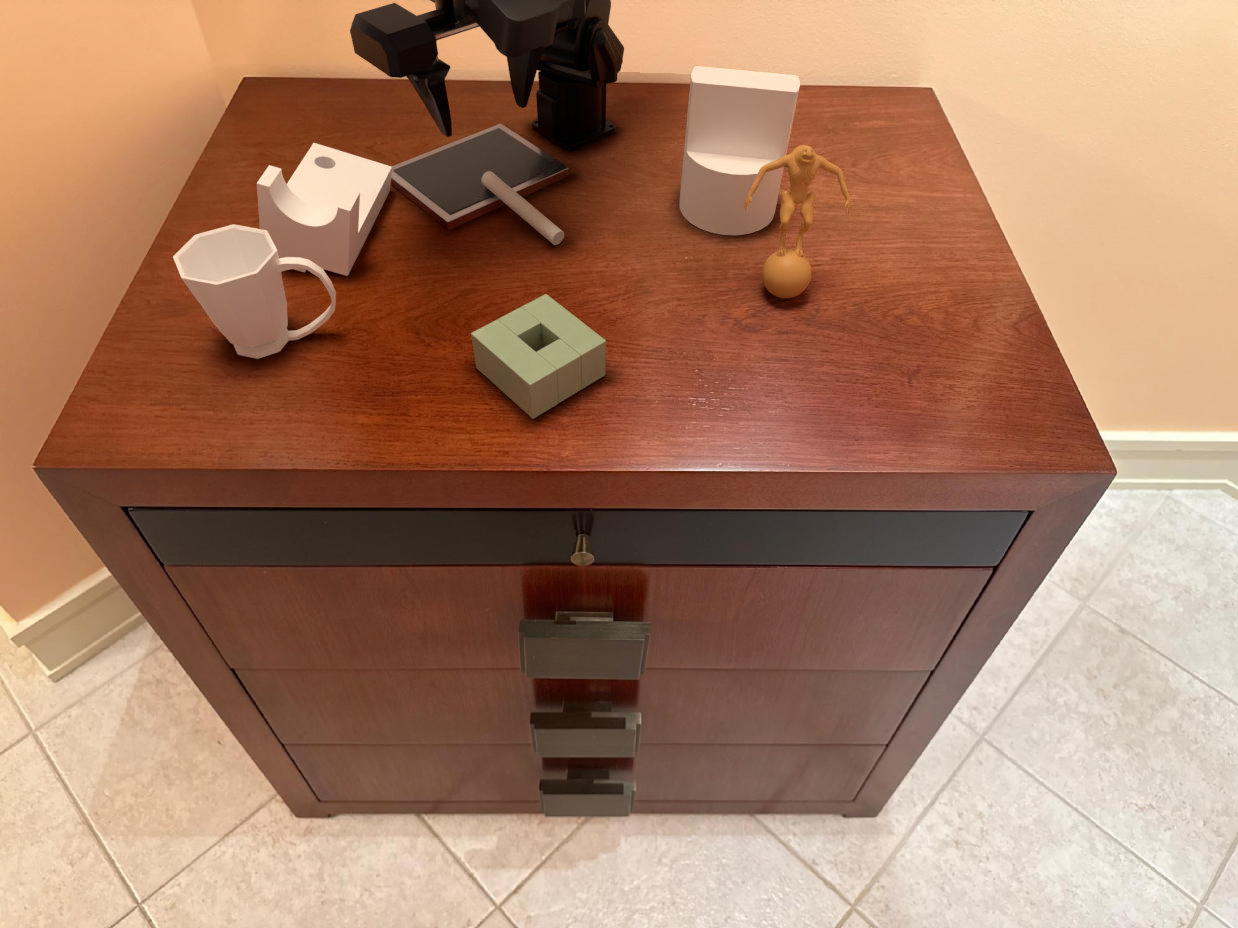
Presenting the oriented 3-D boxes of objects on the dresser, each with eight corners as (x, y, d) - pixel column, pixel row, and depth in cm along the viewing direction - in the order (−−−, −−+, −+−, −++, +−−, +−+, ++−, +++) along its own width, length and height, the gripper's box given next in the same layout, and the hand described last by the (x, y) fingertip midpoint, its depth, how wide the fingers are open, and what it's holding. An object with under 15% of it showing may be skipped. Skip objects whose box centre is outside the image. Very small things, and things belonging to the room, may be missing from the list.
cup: (222, 313, 64) (182, 226, 58) (350, 304, 66) (324, 218, 59) (206, 374, 60) (161, 287, 54) (344, 363, 61) (315, 277, 55)
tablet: (501, 131, 84) (500, 122, 83) (569, 176, 78) (569, 166, 78) (383, 178, 77) (381, 169, 77) (449, 230, 72) (447, 220, 72)
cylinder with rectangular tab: (776, 186, 78) (800, 60, 69) (773, 240, 73) (799, 110, 63) (684, 176, 79) (696, 50, 70) (674, 229, 73) (685, 99, 64)
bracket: (347, 284, 69) (350, 211, 63) (261, 260, 67) (256, 183, 62) (389, 199, 77) (395, 127, 71) (313, 176, 76) (313, 101, 70)
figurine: (734, 306, 67) (757, 173, 57) (730, 261, 70) (751, 130, 61) (834, 310, 67) (873, 178, 57) (825, 265, 70) (860, 135, 61)
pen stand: (547, 328, 64) (545, 293, 62) (605, 375, 61) (606, 340, 58) (475, 368, 61) (470, 333, 59) (532, 419, 58) (529, 385, 55)
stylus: (490, 166, 74) (564, 228, 71) (490, 179, 76) (564, 241, 72) (478, 172, 74) (552, 235, 70) (478, 185, 75) (551, 247, 71)
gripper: (413, -24, 50) (448, 199, 62) (634, -86, 58) (627, 122, 70) (322, -75, 55) (371, 141, 67) (538, -125, 63) (547, 75, 75)
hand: (484, 120), depth 70 cm, fingers open, 7 cm apart
